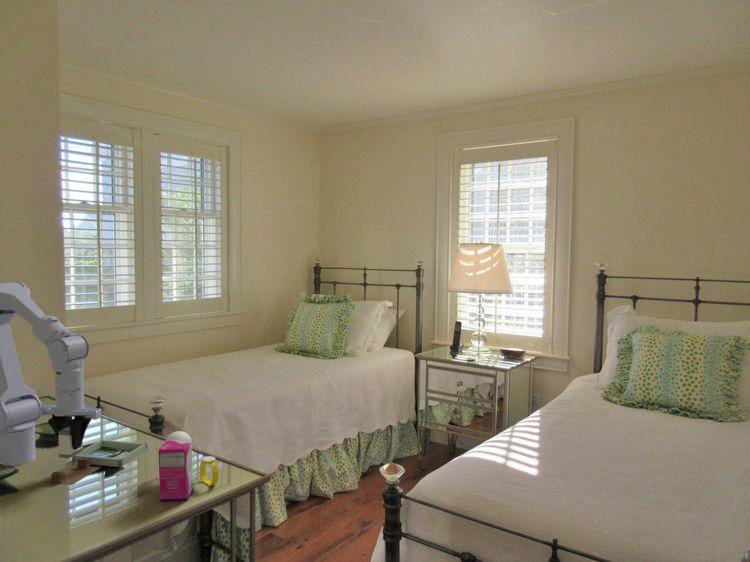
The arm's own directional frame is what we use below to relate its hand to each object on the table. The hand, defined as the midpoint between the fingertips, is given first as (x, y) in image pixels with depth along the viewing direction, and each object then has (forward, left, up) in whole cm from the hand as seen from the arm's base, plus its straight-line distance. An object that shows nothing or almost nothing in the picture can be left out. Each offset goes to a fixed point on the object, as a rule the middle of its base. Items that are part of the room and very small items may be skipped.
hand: (70, 447), depth 128 cm
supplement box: (+28, -4, -7) cm, 29 cm away
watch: (+32, +3, -7) cm, 33 cm away
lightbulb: (+24, +4, -7) cm, 25 cm away
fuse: (0, 0, -2) cm, 2 cm away
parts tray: (+2, +11, -7) cm, 14 cm away
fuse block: (0, 0, -7) cm, 7 cm away
